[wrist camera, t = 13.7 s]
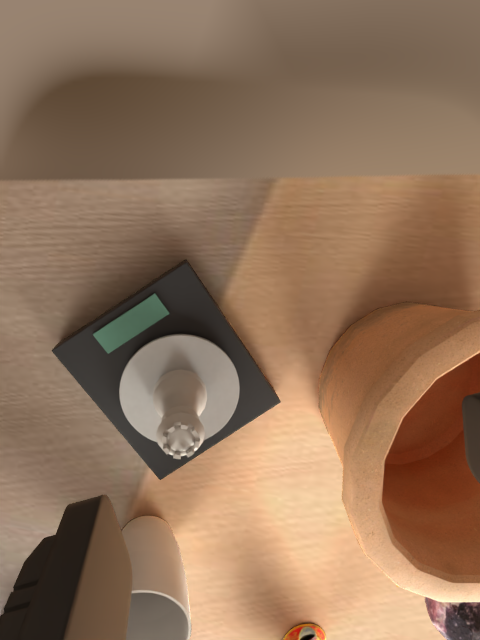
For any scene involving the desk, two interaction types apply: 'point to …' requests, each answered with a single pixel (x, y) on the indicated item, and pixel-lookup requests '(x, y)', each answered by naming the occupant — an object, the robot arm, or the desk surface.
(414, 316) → the pottery
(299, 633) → the magic lamp
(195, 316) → the scale
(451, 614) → the mineral specimen
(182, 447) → the rook chess piece
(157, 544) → the cup
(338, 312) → the desk surface
